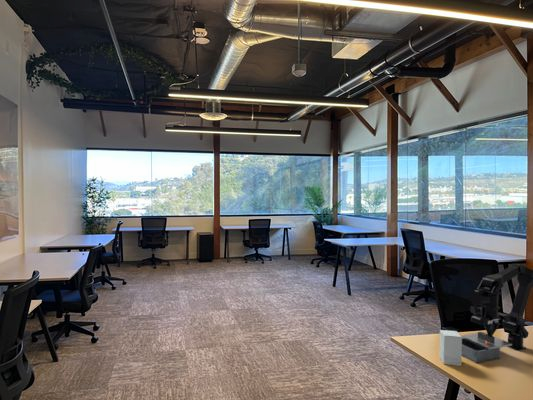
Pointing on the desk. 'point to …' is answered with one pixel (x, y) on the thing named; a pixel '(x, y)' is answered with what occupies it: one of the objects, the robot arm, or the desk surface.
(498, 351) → the grey open box
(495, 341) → the lid
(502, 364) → the desk surface
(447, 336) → the supplement box
